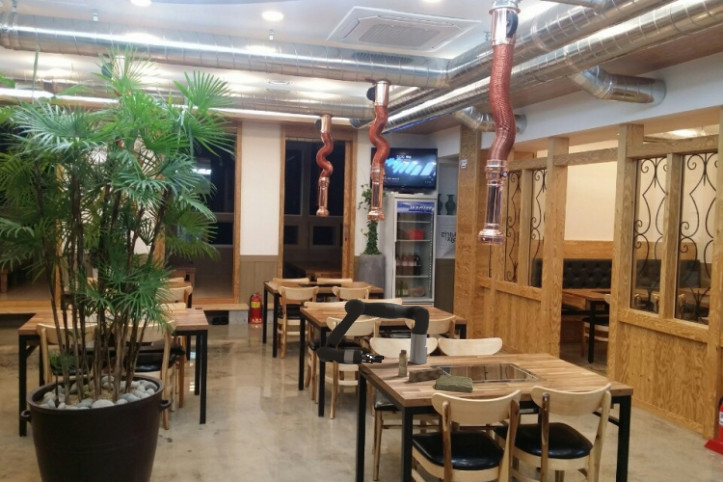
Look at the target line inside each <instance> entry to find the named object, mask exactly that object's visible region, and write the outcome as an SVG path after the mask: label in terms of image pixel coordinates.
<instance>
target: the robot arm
mask: <svg viewBox="0 0 723 482" xmlns="http://www.w3.org/2000/svg"><path fill="white" fill-rule="evenodd" d="M343 308H344V311H345V313H346V314H345V316H344V318H342V320H340V321H339V323H337V325H336V326H335V327H334V328H333V329H332V330H331V332H330V334H329V335H328V336H327V338H326V341H325V344H324V346H320V347H319V348H318V349H317V351H316V356H317V358H318V359H319V360H320V362H323V363H327V362H329V361H334V362H336V363H341V364H342V363H344V364H350V365H362V364H370V365H372V364H382V363H383V360H385V355H380V354H379V355H378V354H377V353H370V352H369V353H367V352H366V353H365V354H364V352H363V350H359V349H358V350H357V349H340V348H339V349H338V346H339V344H340V342H341V341H342V340H343V338H344V337H345V335H346V334H347V332H348V331H349V330H350V328H351V327H352V326H353V325H354V324H355V322H356V321H357V320H358V319H359V318H360V316H369V317H374V318H378V319H383V320H385V319H386V320H397V319H405V320H406V319H407V320H412V321H414V326H413V327H412V328H411V331H410V348H409V349H410V353H409V363H411V364H415V365H417V364H418V365H424V364H425V363H426V364H427V359H428V346H427V338H428V337H427V336H428V330H429V325H430V311H429V309H428V308H427V307H425V306H420V305H402V304H398V303H393V302H381V301H377V302H375V301H374V302H373V301H372V302H366V301H362V300H361V299H357V298H355V299H352V298H351V299H349V300H348V301H346V302H345V303H344V307H343Z"/></svg>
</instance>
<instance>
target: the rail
mask: <svg viewBox="0 0 723 482" xmlns="http://www.w3.org/2000/svg"><path fill="white" fill-rule="evenodd" d="M408 372H409V375H408V381H409V382H412V383H417V382H418V383H420V382H426V381H433V380H437V379H439V378H440V375H444V369H443V368H440V367H431V368H424V369H417V370H416V369H415V370H409V371H408Z"/></svg>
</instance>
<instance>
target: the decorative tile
mask: <svg viewBox="0 0 723 482" xmlns="http://www.w3.org/2000/svg"><path fill="white" fill-rule="evenodd" d="M435 388H436V390H440V391H453V392H464V393H473V390H474V386H473V380H472V378H471V377H466V376H460V375H449V374H443V375H440V378H439V379H435Z"/></svg>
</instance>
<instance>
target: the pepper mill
mask: <svg viewBox="0 0 723 482" xmlns="http://www.w3.org/2000/svg"><path fill="white" fill-rule="evenodd" d="M408 359H409V353H408V350H407V349H400V353H399V356H398V376H397V377H400V378H407V377H408Z"/></svg>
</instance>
